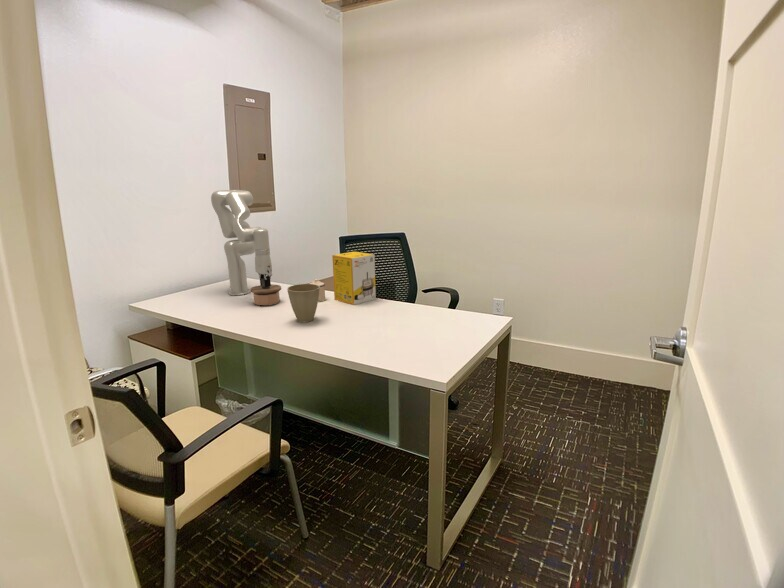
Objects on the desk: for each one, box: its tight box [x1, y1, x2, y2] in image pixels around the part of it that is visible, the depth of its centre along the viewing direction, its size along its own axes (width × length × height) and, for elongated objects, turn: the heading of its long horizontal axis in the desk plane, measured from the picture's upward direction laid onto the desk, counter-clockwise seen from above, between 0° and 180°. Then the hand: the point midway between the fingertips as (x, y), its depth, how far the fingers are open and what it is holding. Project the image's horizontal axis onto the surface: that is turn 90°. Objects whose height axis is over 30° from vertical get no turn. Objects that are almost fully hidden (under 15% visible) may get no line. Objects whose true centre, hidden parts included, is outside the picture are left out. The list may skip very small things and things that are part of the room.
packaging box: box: [331, 251, 377, 306], centre depth 240 cm, size 16×16×25 cm
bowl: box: [252, 291, 281, 306], centre depth 238 cm, size 12×12×6 cm
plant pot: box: [286, 283, 320, 323], centre depth 207 cm, size 15×15×16 cm
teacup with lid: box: [308, 278, 326, 303], centre depth 243 cm, size 12×9×12 cm
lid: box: [250, 277, 282, 294], centre depth 236 cm, size 16×16×6 cm
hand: (265, 285), depth 236 cm, fingers closed on lid, 4 cm apart
